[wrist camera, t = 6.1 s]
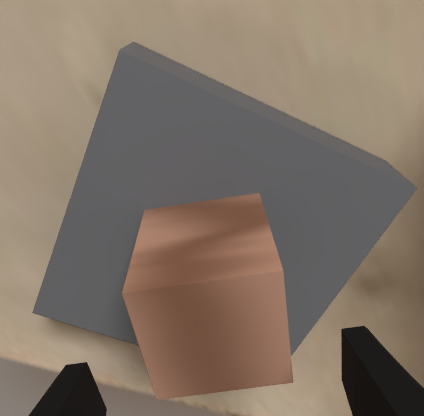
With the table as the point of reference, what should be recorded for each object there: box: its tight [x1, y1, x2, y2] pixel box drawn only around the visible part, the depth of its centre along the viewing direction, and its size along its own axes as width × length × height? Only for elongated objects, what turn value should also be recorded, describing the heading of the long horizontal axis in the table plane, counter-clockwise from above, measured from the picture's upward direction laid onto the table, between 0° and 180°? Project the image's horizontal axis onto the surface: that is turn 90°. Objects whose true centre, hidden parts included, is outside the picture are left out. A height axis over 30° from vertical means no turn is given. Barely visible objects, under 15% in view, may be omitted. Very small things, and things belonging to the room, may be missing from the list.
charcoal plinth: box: [33, 42, 417, 356], centre depth 18 cm, size 12×12×3 cm
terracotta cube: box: [122, 193, 293, 400], centre depth 14 cm, size 4×4×5 cm
